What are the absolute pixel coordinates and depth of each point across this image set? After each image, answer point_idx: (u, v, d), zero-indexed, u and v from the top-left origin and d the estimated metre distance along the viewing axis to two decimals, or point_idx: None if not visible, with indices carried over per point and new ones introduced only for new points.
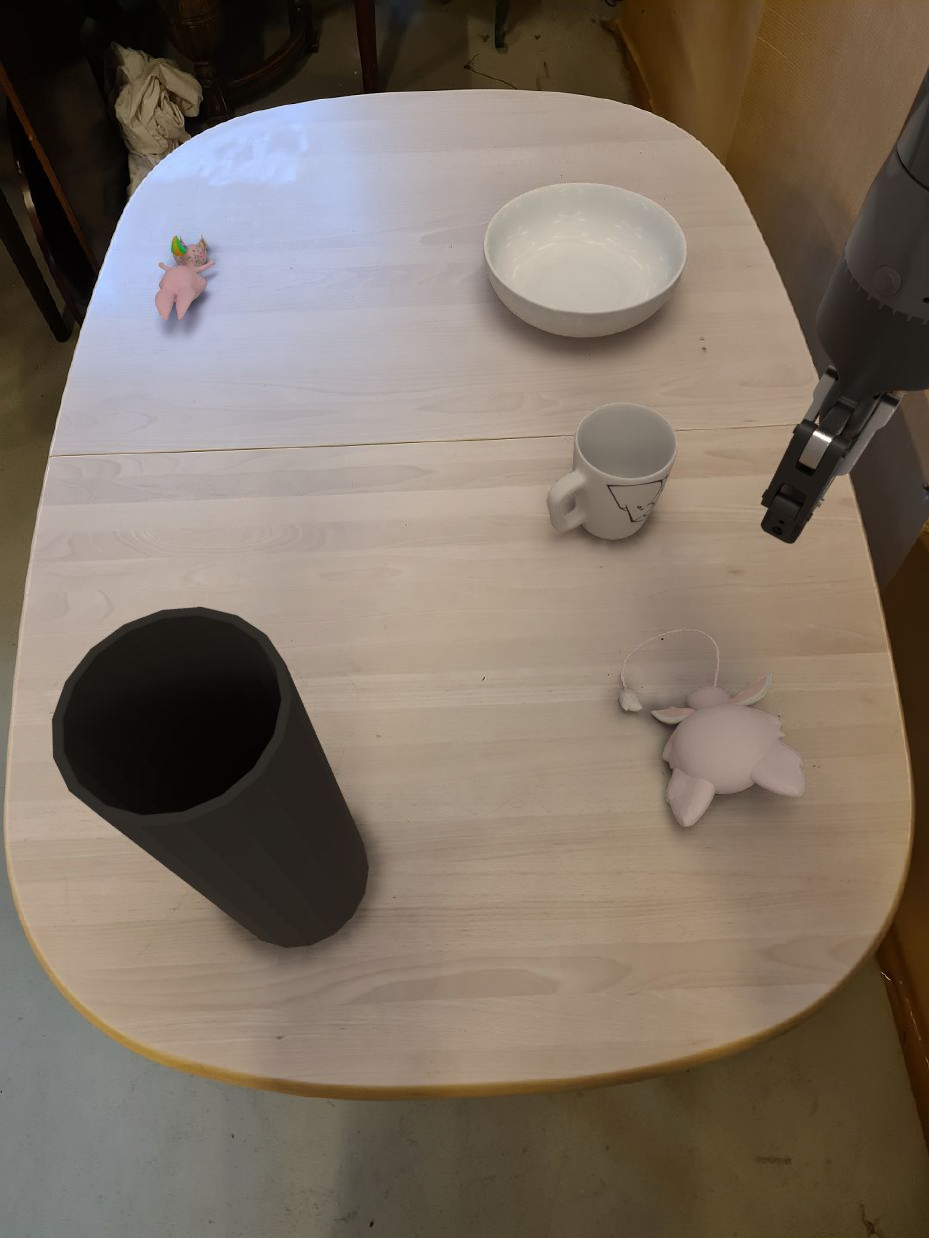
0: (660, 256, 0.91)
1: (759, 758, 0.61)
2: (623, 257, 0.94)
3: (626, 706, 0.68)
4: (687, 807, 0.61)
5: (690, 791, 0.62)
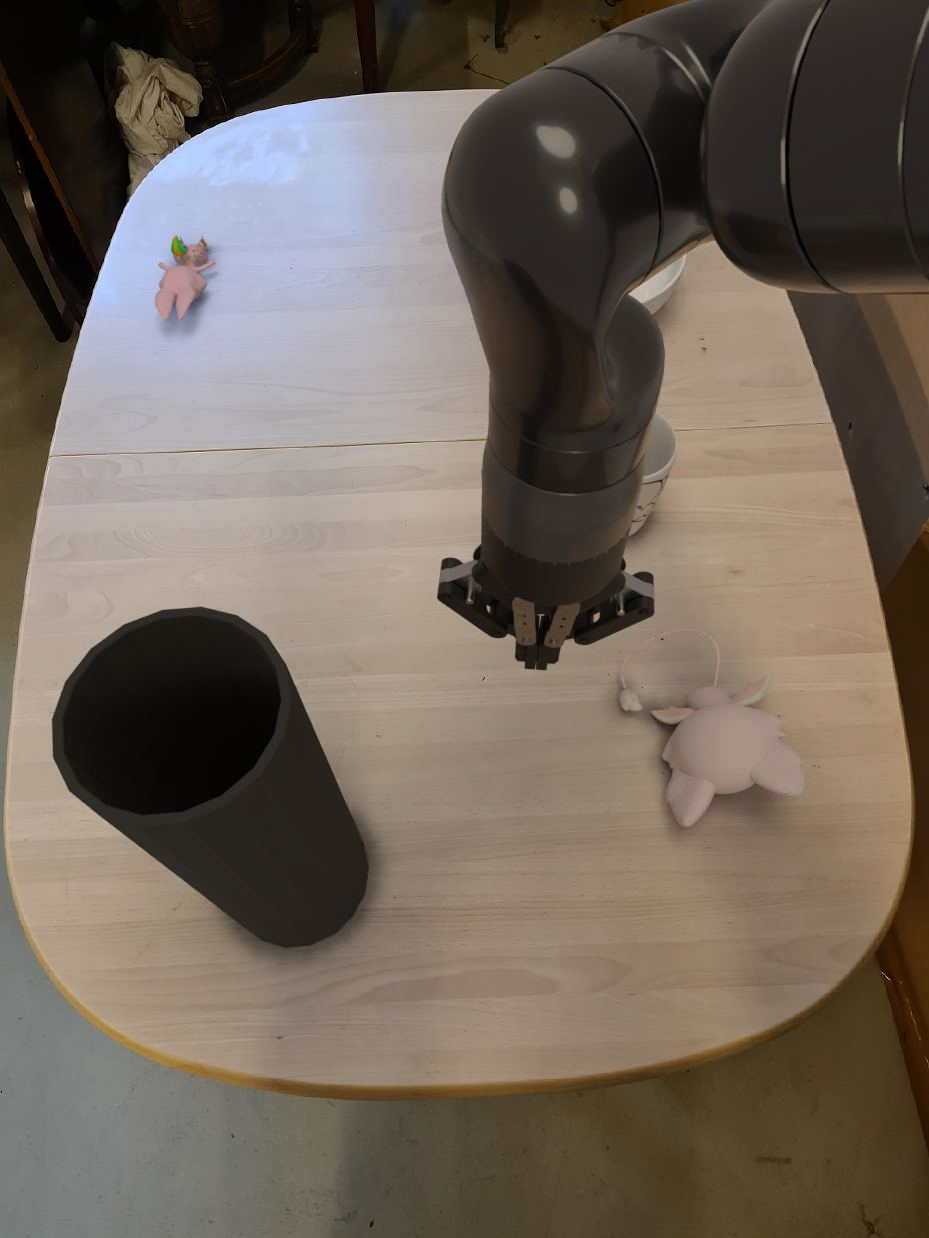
0: None
1: (759, 758, 0.61)
2: None
3: (626, 706, 0.68)
4: (687, 807, 0.61)
5: (690, 791, 0.62)
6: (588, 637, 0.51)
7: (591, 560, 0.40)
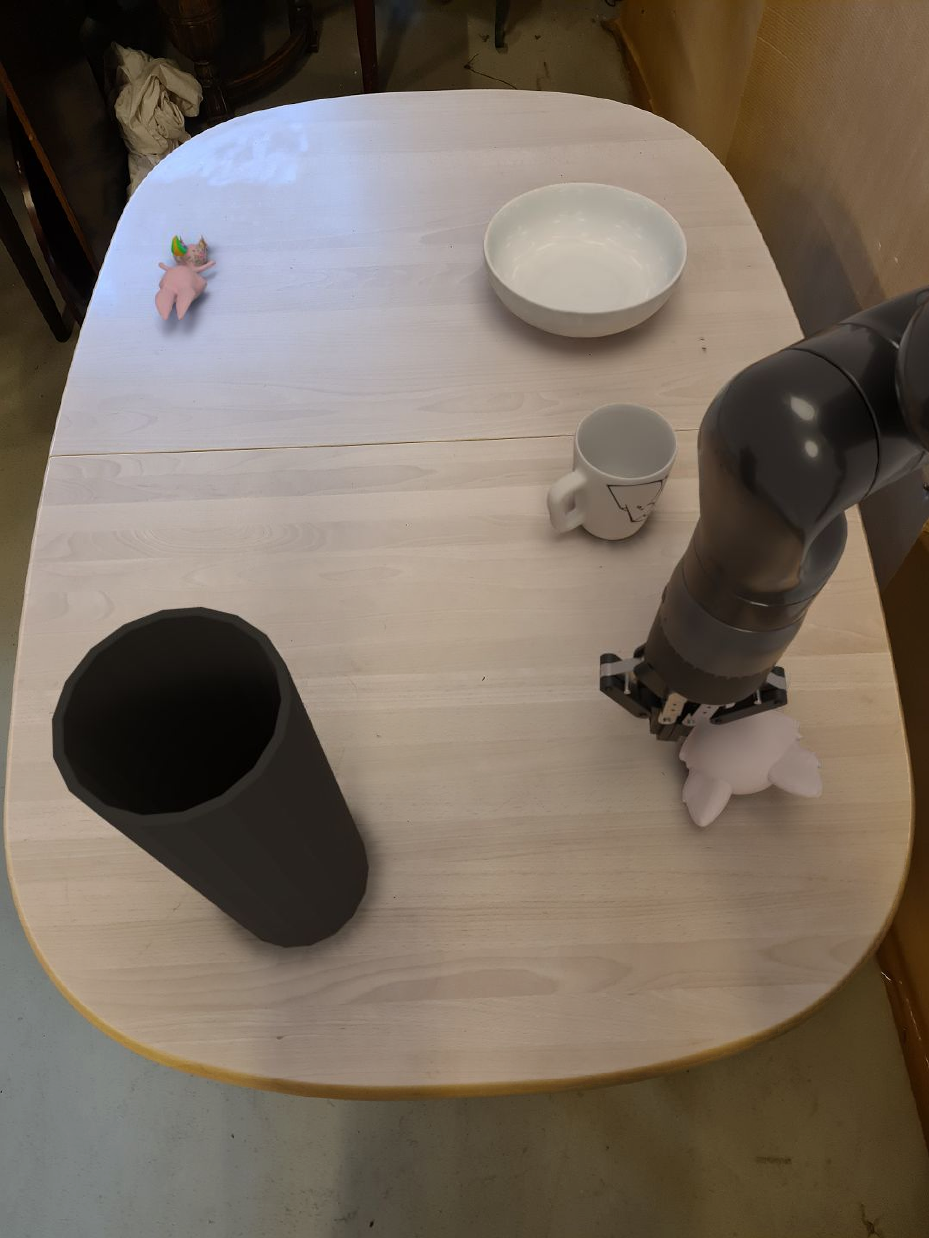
0: (660, 256, 0.91)
1: (777, 759, 0.61)
2: (623, 257, 0.94)
3: None
4: (704, 807, 0.61)
5: (707, 791, 0.62)
6: (722, 719, 0.59)
7: (757, 674, 0.48)
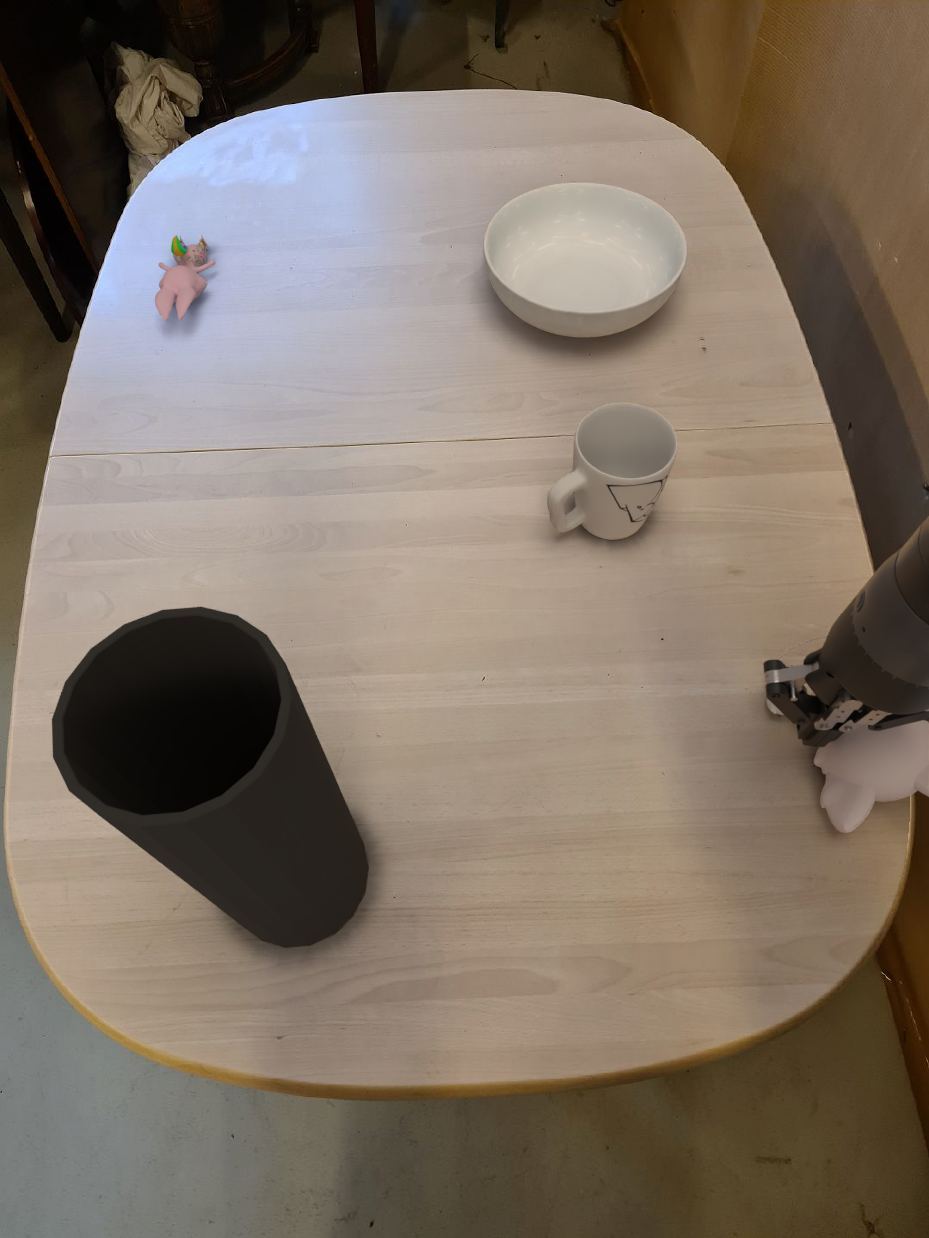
0: (660, 256, 0.91)
1: (924, 767, 0.60)
2: (623, 257, 0.94)
3: (775, 709, 0.67)
4: (848, 813, 0.61)
5: (850, 797, 0.61)
6: (883, 725, 0.59)
7: None
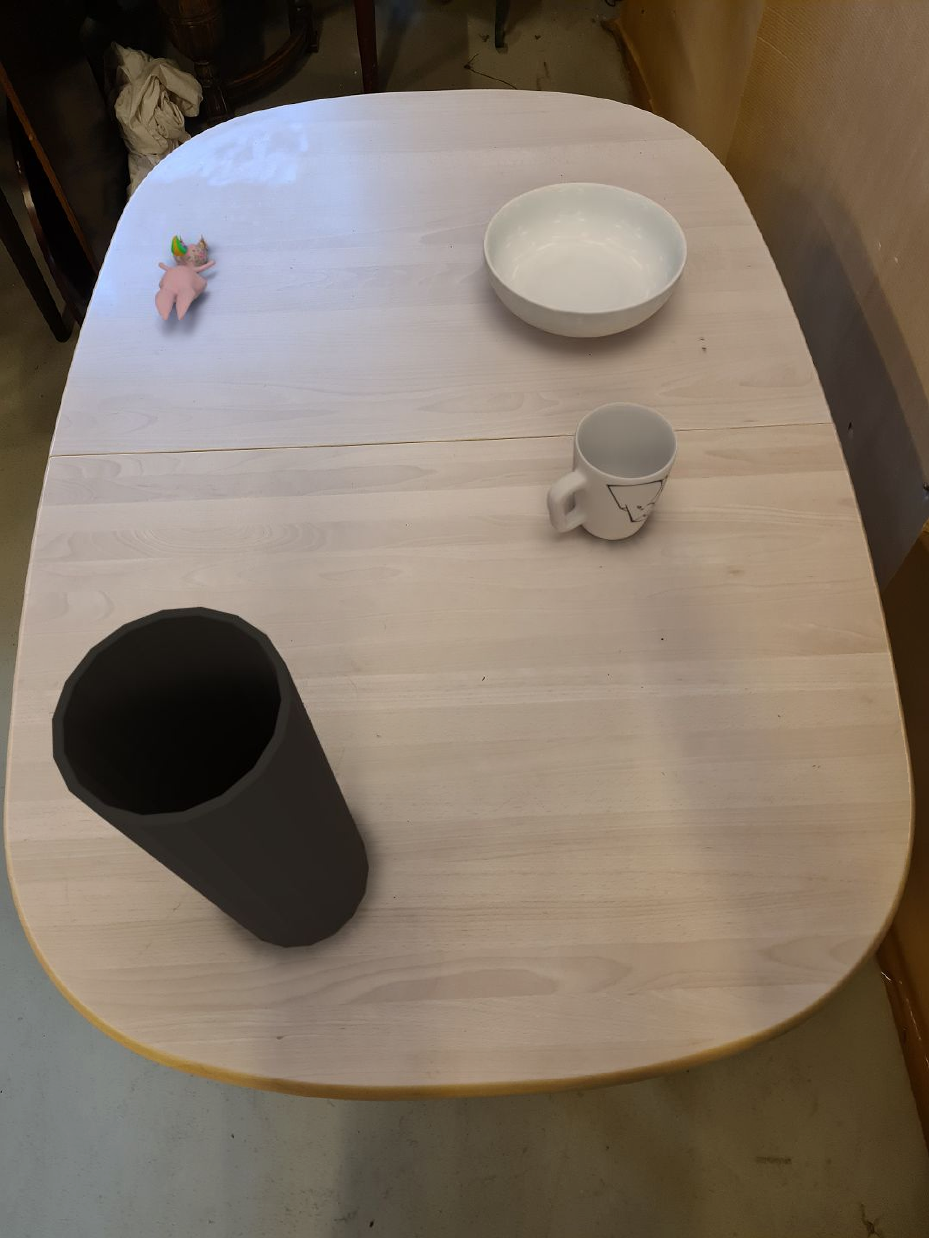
0: (660, 256, 0.91)
1: None
2: (623, 257, 0.94)
3: None
4: None
5: None
6: None
7: None
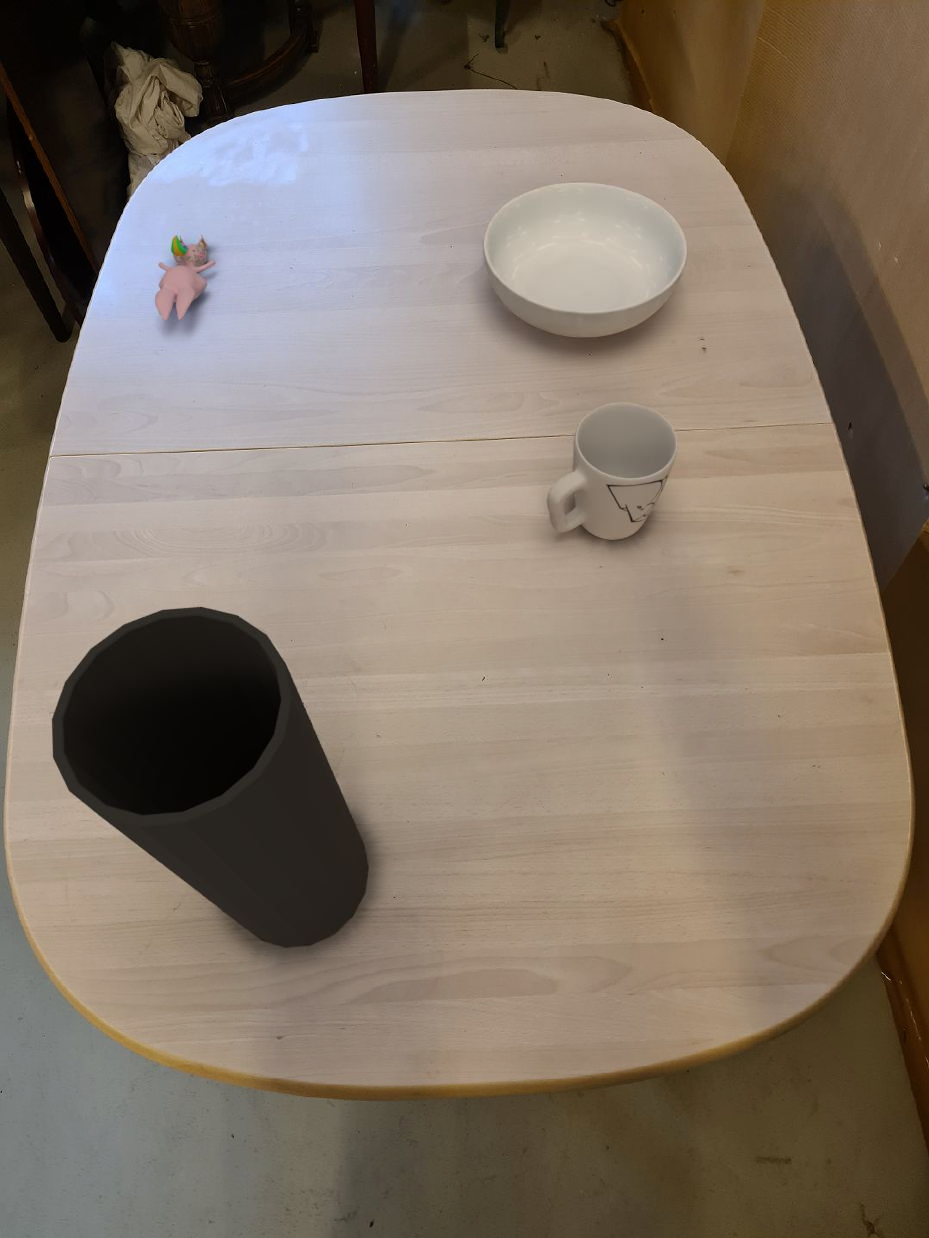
0: (660, 256, 0.91)
1: None
2: (623, 257, 0.94)
3: None
4: None
5: None
6: None
7: None
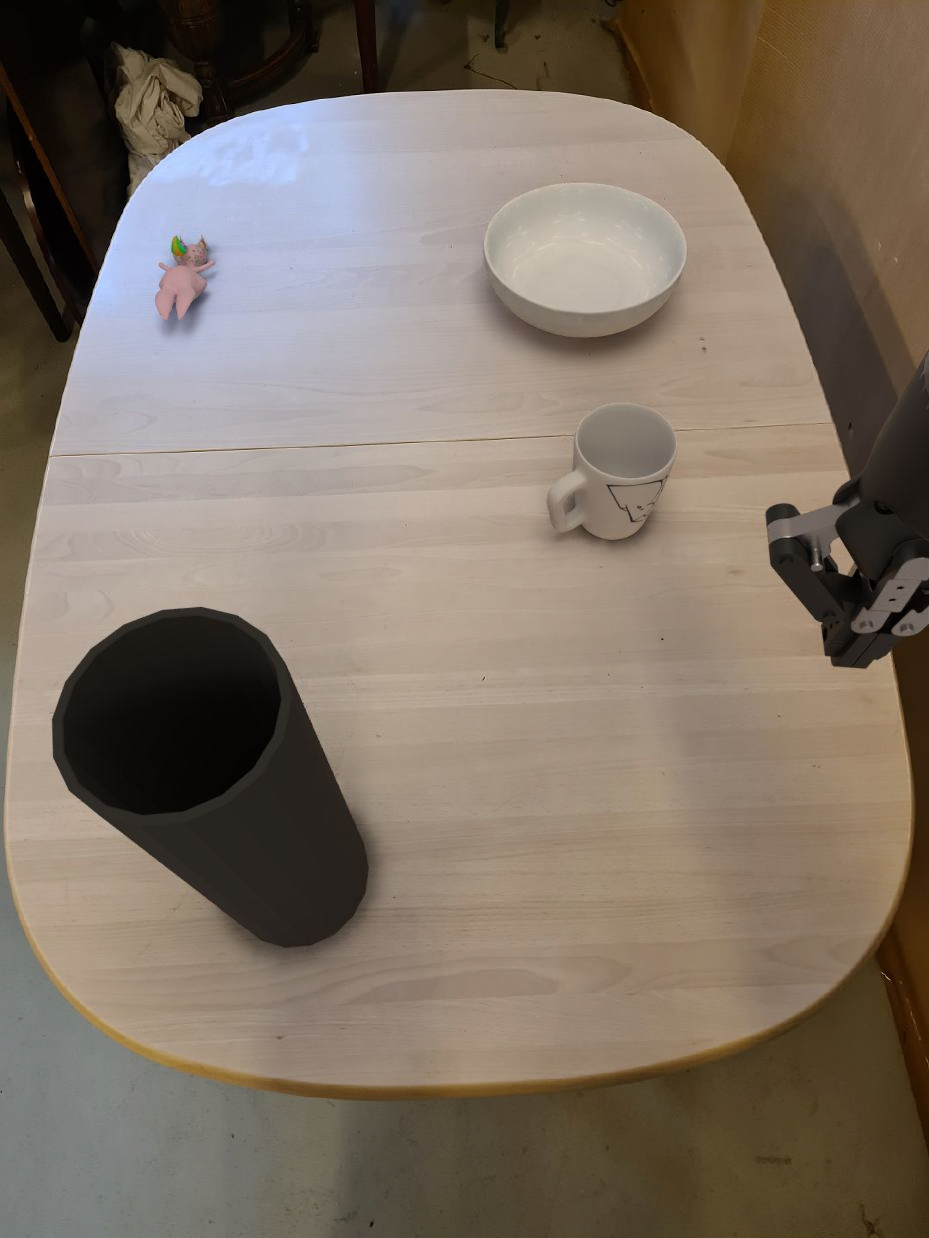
0: (660, 256, 0.91)
1: None
2: (623, 257, 0.94)
3: None
4: None
5: None
6: None
7: None
